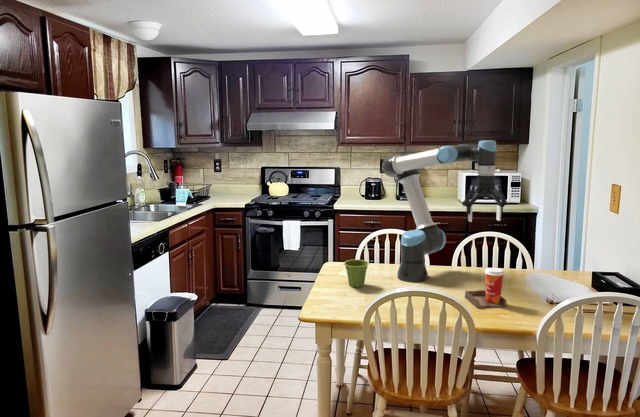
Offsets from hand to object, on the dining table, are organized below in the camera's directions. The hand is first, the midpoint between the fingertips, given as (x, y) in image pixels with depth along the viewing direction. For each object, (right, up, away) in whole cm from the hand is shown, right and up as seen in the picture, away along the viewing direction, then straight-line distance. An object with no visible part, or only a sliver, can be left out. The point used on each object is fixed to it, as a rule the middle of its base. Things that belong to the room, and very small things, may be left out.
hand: (484, 220), depth 211 cm
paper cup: (-2, -34, -16) cm, 38 cm away
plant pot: (-58, -32, +10) cm, 67 cm away
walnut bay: (-5, -35, -14) cm, 38 cm away
